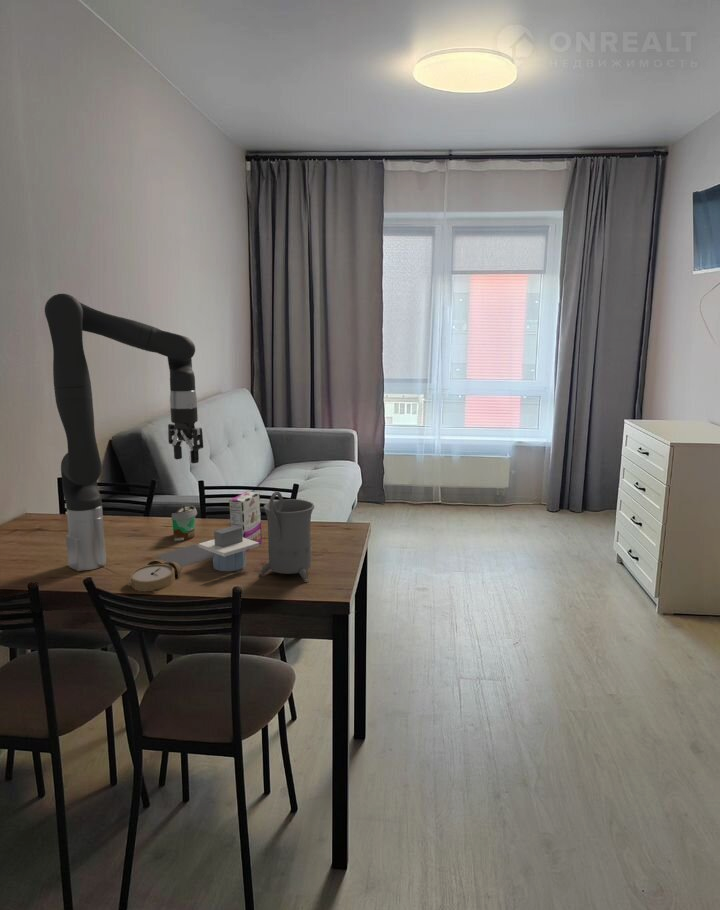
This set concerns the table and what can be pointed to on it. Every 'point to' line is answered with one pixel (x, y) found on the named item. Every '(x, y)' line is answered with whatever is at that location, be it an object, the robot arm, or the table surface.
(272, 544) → the grey footed pot
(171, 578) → the alarm clock
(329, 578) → the table surface
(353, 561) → the table surface
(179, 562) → the mat
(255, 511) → the candy bar box
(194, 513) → the food container
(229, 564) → the bowl
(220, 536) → the lid
